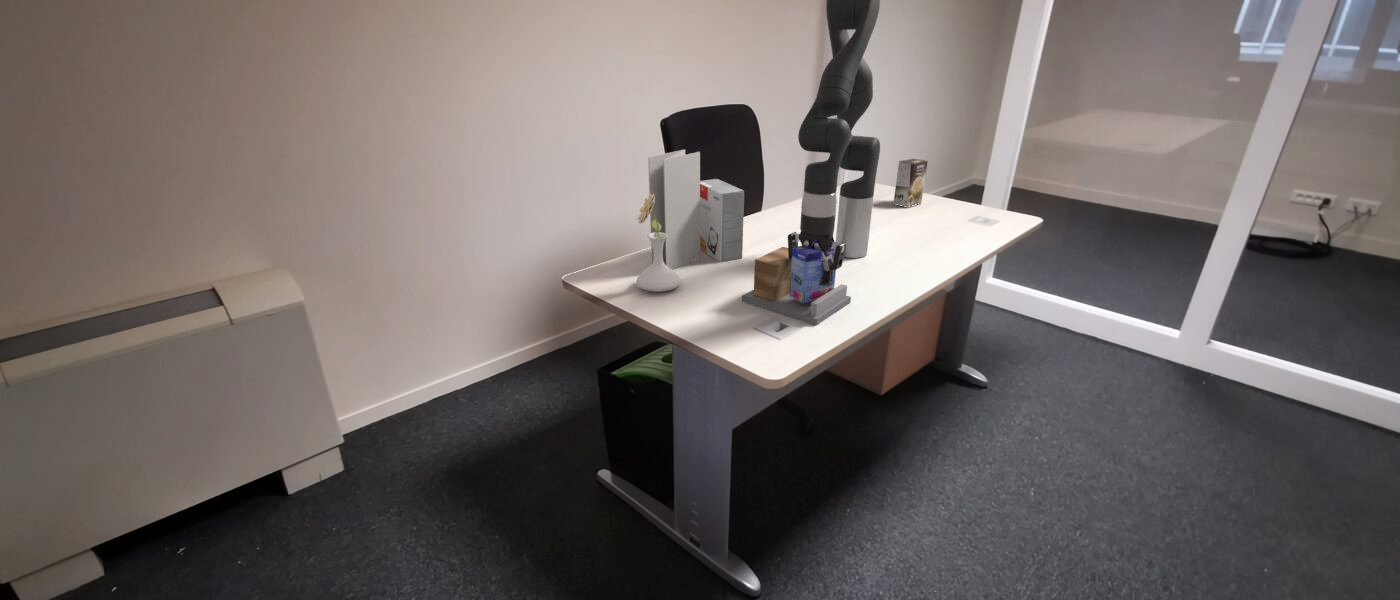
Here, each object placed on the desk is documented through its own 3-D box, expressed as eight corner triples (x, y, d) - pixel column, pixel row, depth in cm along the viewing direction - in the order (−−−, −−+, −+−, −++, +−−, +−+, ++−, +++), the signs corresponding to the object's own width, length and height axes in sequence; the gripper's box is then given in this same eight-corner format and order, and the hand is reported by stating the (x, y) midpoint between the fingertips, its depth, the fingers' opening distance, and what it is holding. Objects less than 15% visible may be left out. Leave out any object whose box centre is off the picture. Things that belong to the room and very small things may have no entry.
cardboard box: (781, 280, 158) (782, 246, 154) (801, 286, 154) (803, 251, 151) (753, 294, 149) (754, 259, 146) (774, 301, 146) (776, 265, 142)
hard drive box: (695, 246, 187) (694, 181, 179) (717, 243, 190) (718, 178, 182) (720, 263, 174) (721, 192, 166) (743, 258, 177) (745, 189, 169)
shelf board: (778, 281, 161) (779, 265, 159) (850, 302, 149) (852, 285, 147) (741, 301, 150) (742, 284, 148) (816, 325, 138) (818, 306, 136)
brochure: (685, 253, 181) (684, 149, 169) (700, 257, 178) (700, 151, 166) (651, 267, 171) (648, 157, 159) (666, 271, 168) (664, 160, 156)
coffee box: (907, 208, 225) (913, 164, 219) (892, 204, 230) (898, 161, 223) (921, 204, 230) (928, 160, 224) (906, 200, 235) (912, 157, 228)
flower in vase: (642, 277, 164) (639, 183, 154) (685, 280, 162) (684, 185, 152) (629, 297, 152) (624, 197, 142) (675, 300, 150) (673, 199, 140)
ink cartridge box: (803, 304, 141) (807, 244, 136) (788, 296, 146) (790, 237, 140) (835, 295, 146) (840, 236, 140) (819, 287, 150) (823, 230, 145)
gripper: (856, 213, 136) (848, 283, 143) (799, 202, 145) (795, 269, 151) (839, 220, 131) (832, 293, 138) (781, 209, 139) (778, 278, 146)
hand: (813, 280), depth 144 cm, fingers closed on ink cartridge box, 6 cm apart
